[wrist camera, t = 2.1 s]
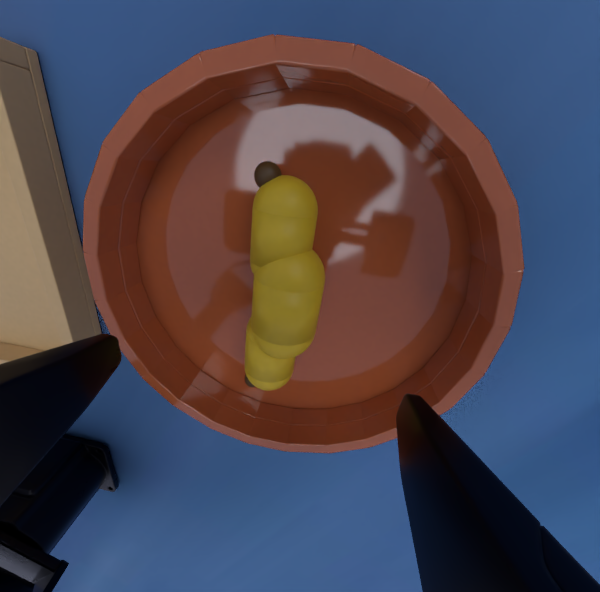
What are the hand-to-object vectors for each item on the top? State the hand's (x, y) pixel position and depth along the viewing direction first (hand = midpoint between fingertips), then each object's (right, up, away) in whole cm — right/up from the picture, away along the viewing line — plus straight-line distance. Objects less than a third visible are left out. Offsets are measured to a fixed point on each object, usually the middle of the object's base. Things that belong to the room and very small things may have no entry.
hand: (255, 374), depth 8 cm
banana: (+1, +3, +6) cm, 7 cm away
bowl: (+1, +3, +6) cm, 7 cm away
